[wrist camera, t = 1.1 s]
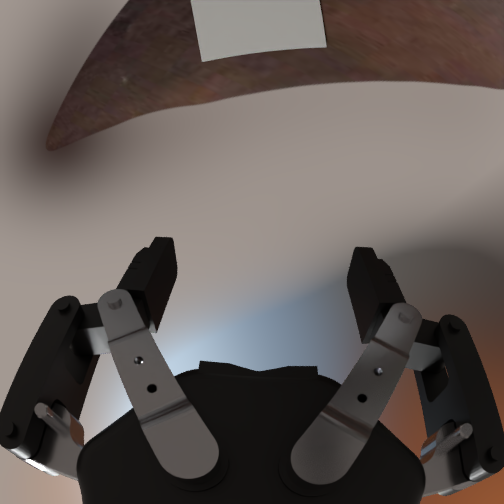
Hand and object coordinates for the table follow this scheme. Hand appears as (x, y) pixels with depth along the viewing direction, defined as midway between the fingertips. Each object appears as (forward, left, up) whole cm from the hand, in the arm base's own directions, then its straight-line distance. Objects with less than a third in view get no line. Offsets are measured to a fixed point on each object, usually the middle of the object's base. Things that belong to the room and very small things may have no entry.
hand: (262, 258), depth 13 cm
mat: (-16, -1, -25) cm, 30 cm away
